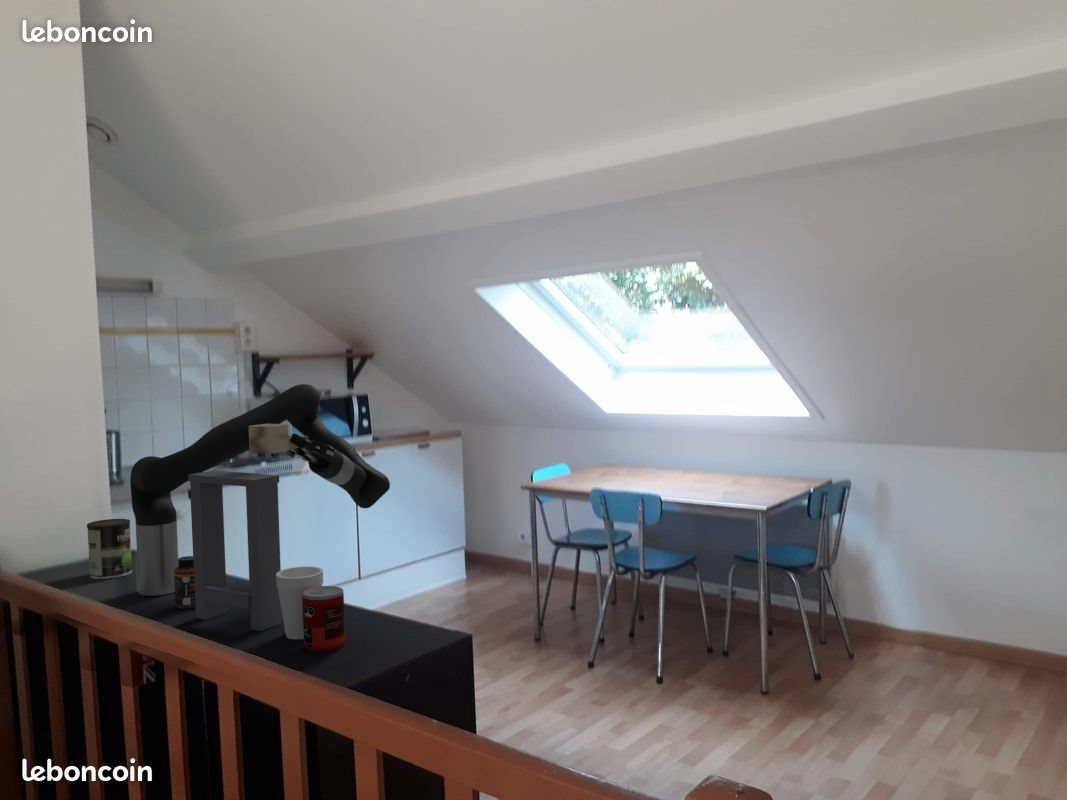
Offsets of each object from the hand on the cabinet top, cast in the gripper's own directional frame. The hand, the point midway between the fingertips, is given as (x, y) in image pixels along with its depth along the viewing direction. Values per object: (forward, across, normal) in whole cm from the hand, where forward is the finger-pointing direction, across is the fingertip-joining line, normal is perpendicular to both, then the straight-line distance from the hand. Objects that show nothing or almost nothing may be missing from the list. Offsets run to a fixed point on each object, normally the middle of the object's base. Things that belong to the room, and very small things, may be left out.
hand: (286, 437), depth 195 cm
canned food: (-2, +28, +43) cm, 52 cm away
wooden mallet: (0, 0, +3) cm, 3 cm away
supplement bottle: (-8, -19, +40) cm, 45 cm away
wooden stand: (-5, 0, +42) cm, 42 cm away
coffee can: (-16, -62, +36) cm, 73 cm away
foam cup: (-5, +19, +42) cm, 46 cm away
